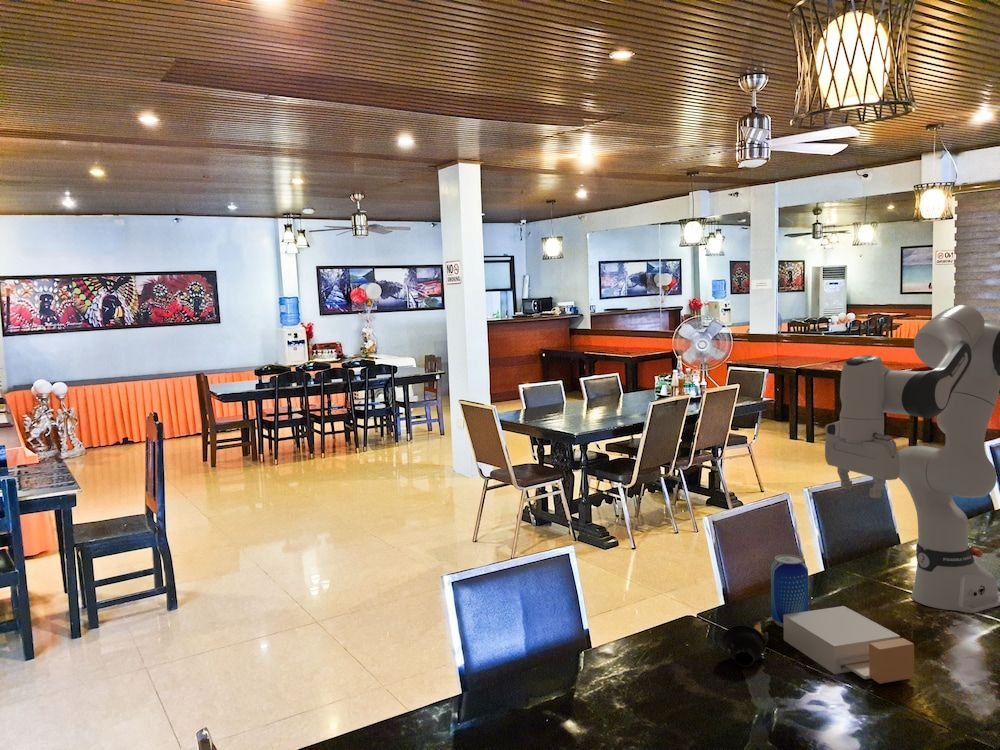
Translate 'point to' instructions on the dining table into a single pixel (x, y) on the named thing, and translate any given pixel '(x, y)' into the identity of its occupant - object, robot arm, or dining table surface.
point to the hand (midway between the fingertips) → (860, 492)
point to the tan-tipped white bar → (887, 661)
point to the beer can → (788, 587)
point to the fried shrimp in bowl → (745, 643)
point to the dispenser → (834, 636)
